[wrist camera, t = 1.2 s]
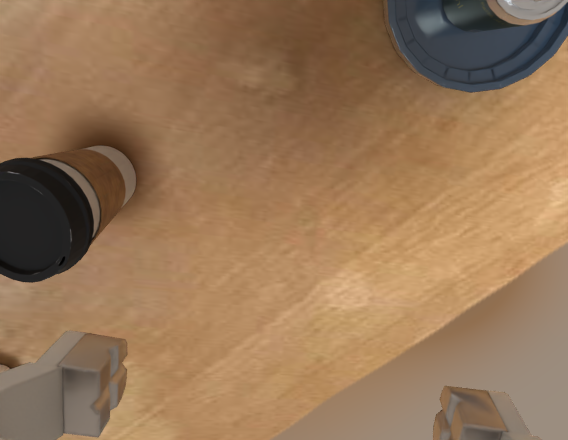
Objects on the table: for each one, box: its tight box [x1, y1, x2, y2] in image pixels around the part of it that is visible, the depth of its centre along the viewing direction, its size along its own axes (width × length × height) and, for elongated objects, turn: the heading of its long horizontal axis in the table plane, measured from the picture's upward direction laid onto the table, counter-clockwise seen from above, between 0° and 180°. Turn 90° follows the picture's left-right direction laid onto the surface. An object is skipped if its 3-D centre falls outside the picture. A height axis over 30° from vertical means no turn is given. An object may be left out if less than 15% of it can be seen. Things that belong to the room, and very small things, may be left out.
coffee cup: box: [0, 146, 136, 282], centre depth 40 cm, size 8×8×15 cm
